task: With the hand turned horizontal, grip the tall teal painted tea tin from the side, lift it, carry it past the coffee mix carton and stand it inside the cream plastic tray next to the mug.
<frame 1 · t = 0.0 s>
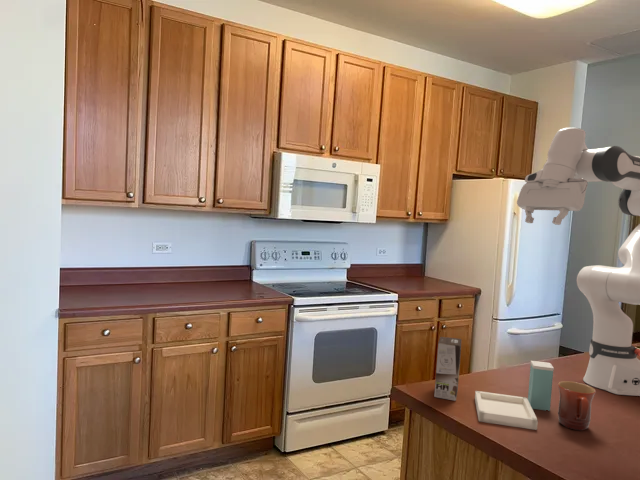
hand: (541, 223, 142), 52 cm above the countertop, tool tilted 20°, fingers open, 8 cm apart
tea tin: (538, 406, 139), on the countertop
coffee box: (446, 394, 144), on the countertop
tray: (503, 413, 132), on the countertop
mug: (575, 429, 125), on the countertop
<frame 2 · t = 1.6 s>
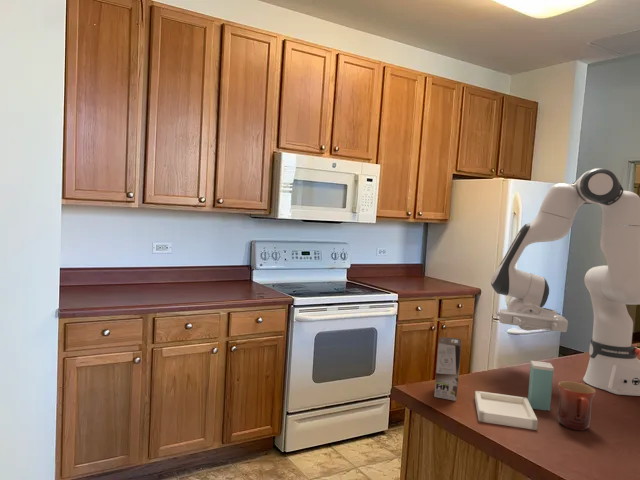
hand: (537, 325, 148), 21 cm above the countertop, tool horizontal, fingers open, 8 cm apart
nothing on the countertop moved.
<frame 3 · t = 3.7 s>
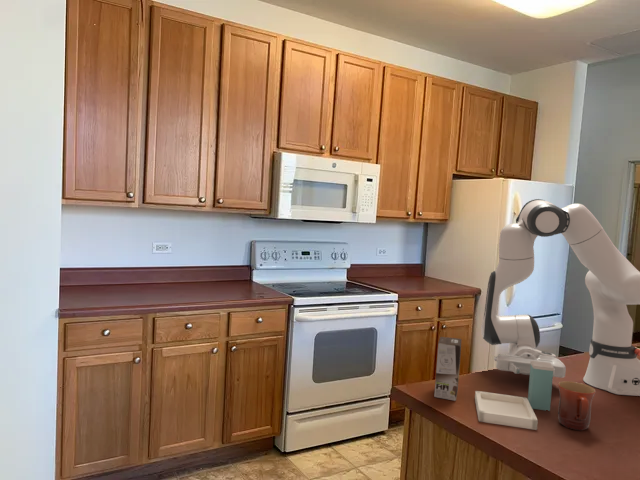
hand: (533, 373, 148), 6 cm above the countertop, tool horizontal, fingers open, 8 cm apart
nothing on the countertop moved.
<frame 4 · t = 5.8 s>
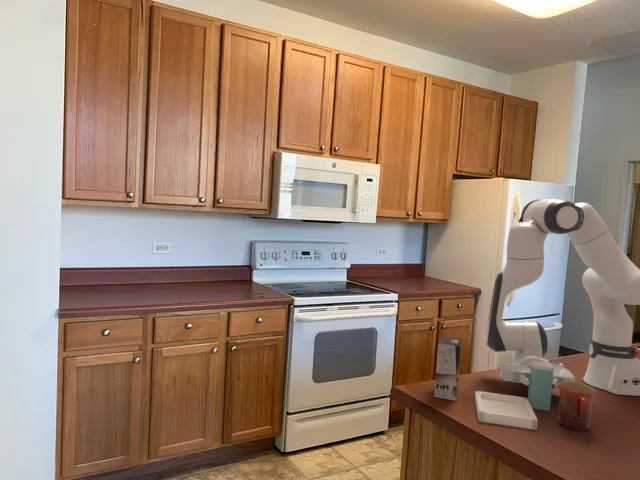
hand: (541, 384, 138), 7 cm above the countertop, tool horizontal, fingers closed on tea tin, 5 cm apart
tea tin: (538, 406, 139), on the countertop, touching gripper
everything else where it was.
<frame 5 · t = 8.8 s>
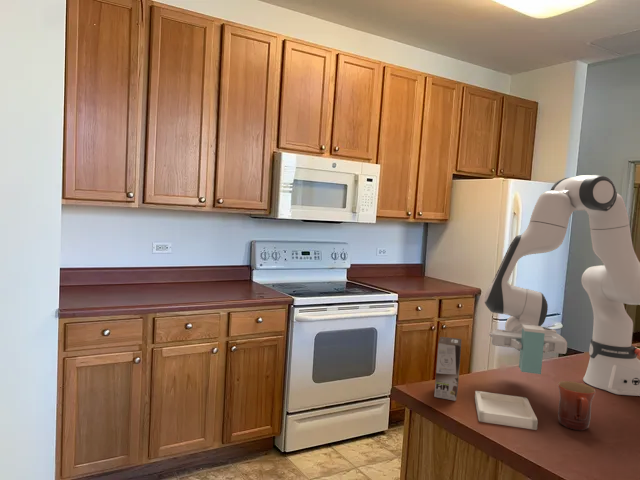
hand: (532, 348, 135), 17 cm above the countertop, tool horizontal, fingers closed on tea tin, 5 cm apart
tea tin: (529, 370, 136), point 11 cm above the countertop, touching gripper
everything else where it was.
when the fingers open (8 cm above the countertop, at t = 11.8 s): tea tin stays where it is, resting on tray.
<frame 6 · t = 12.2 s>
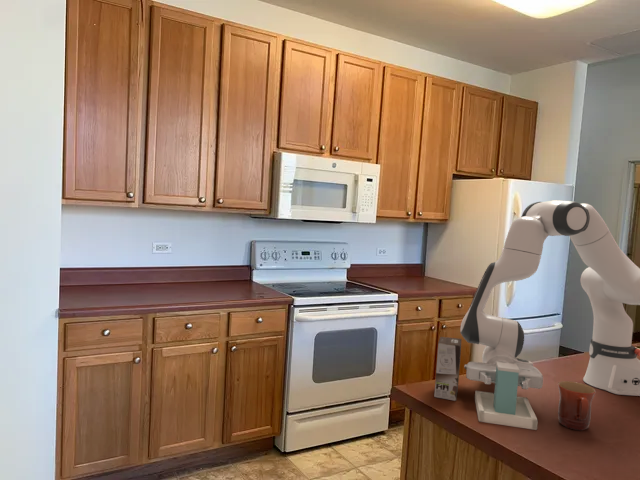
hand: (506, 384, 131), 8 cm above the countertop, tool horizontal, fingers open, 8 cm apart
tea tin: (504, 409, 132), point 1 cm above the countertop, touching tray
everything else where it was.
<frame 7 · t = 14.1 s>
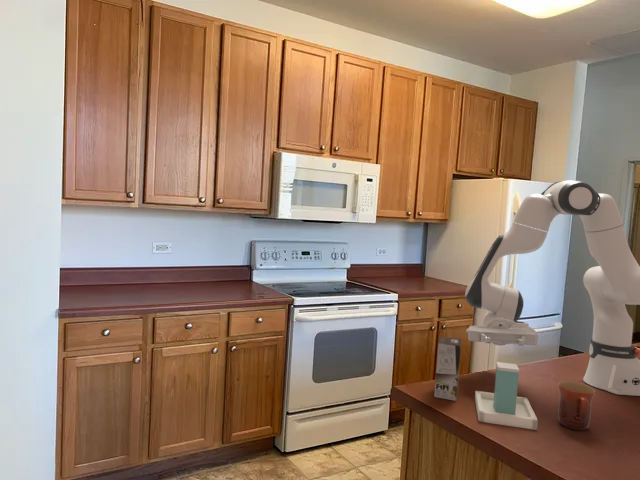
hand: (504, 341, 144), 16 cm above the countertop, tool horizontal, fingers open, 8 cm apart
nothing on the countertop moved.
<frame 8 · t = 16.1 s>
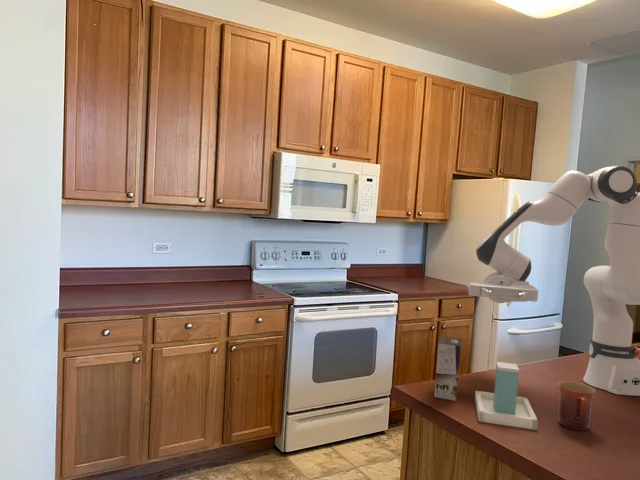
hand: (505, 295, 145), 30 cm above the countertop, tool horizontal, fingers open, 8 cm apart
nothing on the countertop moved.
at the end: tea tin inside the target area on the tray (0.1 cm from its centre), point 1.0 cm above the tray's base; tea tin tilted 0°; the gripper is holding nothing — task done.
